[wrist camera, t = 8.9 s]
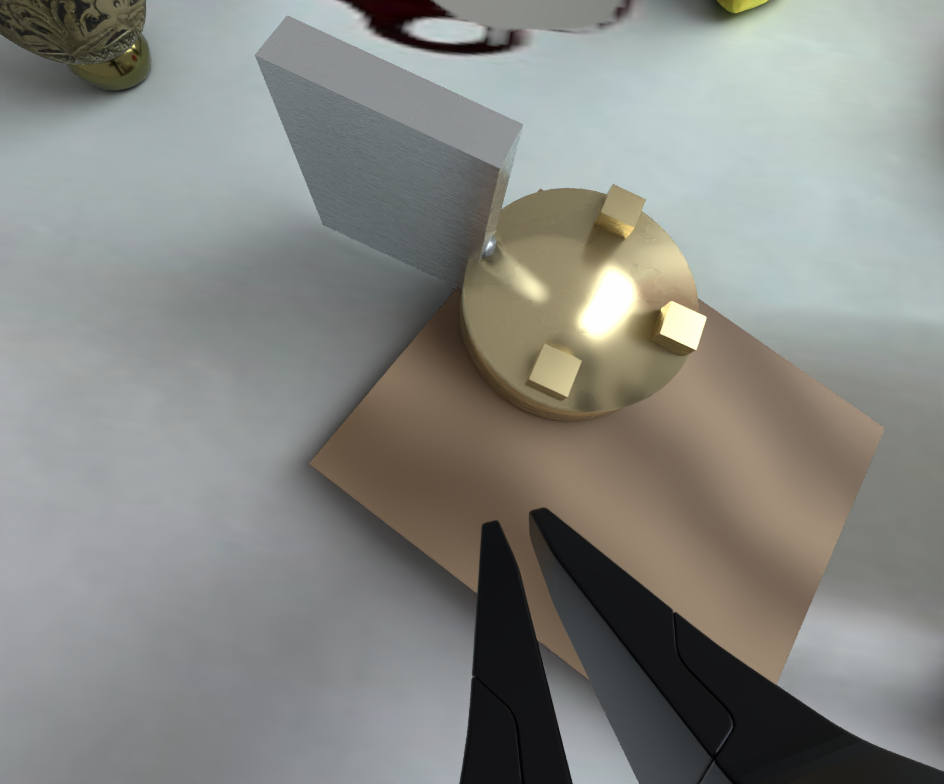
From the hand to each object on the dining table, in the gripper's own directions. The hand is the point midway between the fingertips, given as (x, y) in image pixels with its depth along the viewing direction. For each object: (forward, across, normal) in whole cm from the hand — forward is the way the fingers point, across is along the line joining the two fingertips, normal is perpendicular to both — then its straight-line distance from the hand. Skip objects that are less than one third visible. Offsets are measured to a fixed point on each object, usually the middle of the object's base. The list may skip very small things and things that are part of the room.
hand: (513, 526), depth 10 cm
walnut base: (+6, -6, +4) cm, 10 cm away
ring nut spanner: (+10, -3, -2) cm, 11 cm away
